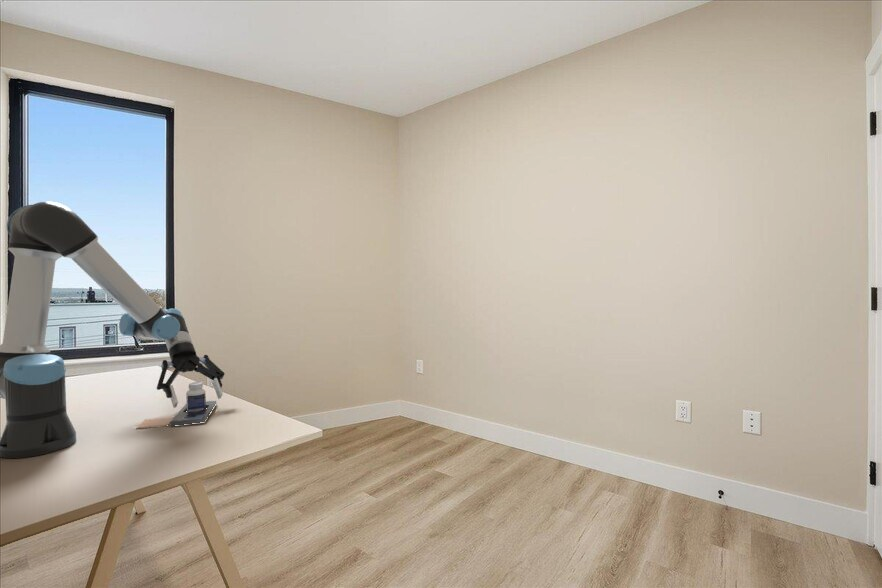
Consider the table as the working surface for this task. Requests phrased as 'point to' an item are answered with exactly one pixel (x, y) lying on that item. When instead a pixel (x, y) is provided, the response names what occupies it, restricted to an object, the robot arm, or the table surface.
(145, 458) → the table surface
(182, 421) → the holder
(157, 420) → the coaster
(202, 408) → the pill bottle
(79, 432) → the table surface
